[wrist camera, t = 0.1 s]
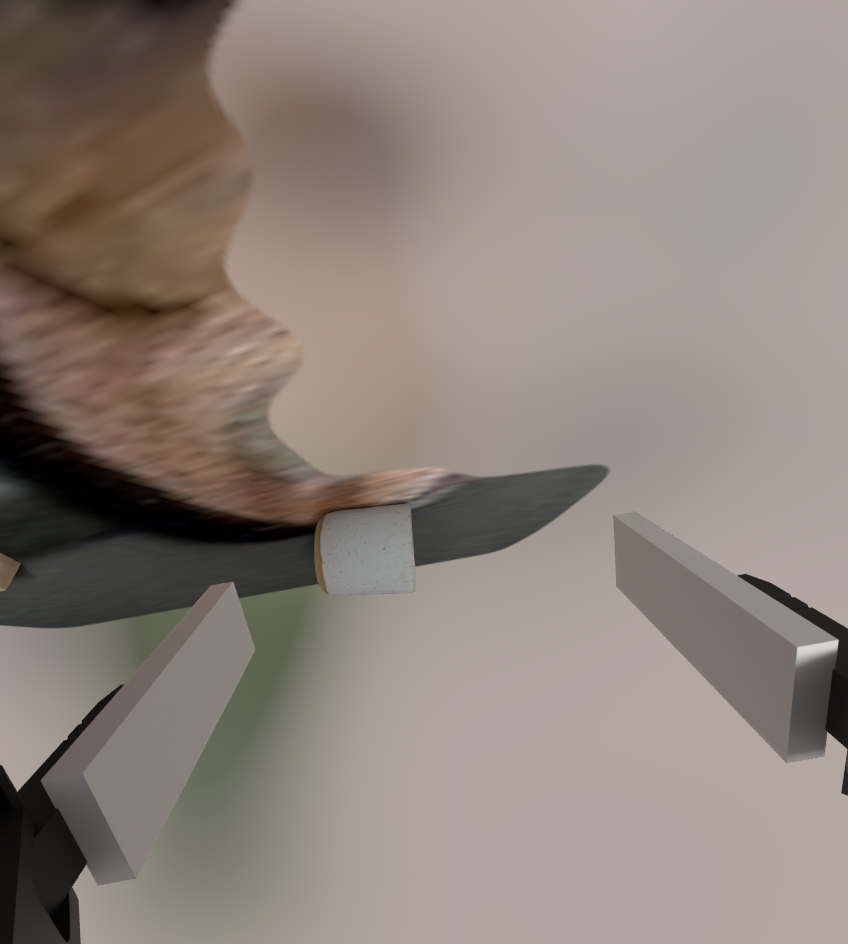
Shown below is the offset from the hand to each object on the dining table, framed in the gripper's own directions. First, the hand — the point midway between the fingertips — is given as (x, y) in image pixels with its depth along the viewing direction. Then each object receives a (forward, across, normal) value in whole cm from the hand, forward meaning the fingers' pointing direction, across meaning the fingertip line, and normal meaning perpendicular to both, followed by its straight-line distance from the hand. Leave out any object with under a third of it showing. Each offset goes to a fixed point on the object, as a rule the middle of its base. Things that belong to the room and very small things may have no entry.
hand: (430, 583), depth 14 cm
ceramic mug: (+24, -5, -6) cm, 25 cm away
